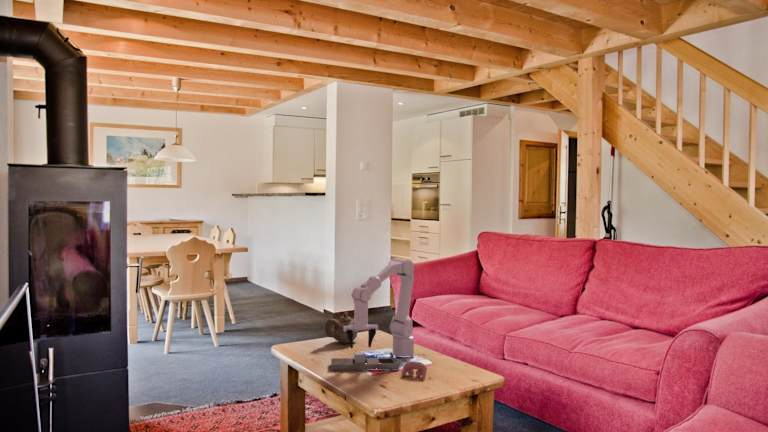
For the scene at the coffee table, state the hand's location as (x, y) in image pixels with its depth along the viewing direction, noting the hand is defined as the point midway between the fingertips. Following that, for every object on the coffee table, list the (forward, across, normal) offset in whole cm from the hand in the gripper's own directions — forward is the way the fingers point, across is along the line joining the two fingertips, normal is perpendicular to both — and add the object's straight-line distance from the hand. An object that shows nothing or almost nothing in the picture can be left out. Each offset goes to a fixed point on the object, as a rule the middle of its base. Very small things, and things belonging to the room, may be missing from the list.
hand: (360, 347), depth 234 cm
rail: (+8, -2, +1) cm, 9 cm away
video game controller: (+9, -20, +15) cm, 26 cm away
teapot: (+9, +2, -35) cm, 36 cm away
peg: (+8, 0, 0) cm, 8 cm away
